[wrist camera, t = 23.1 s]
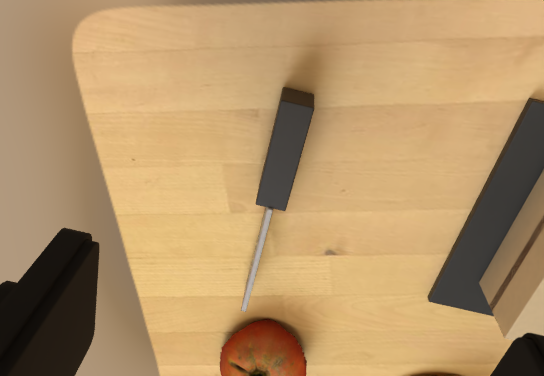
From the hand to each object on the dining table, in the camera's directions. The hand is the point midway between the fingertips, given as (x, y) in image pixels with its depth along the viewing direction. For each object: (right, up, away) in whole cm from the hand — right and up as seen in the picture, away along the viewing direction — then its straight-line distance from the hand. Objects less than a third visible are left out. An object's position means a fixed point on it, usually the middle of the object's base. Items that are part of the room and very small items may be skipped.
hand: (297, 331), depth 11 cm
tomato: (-1, -12, +35) cm, 37 cm away
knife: (-1, +2, +27) cm, 27 cm away
